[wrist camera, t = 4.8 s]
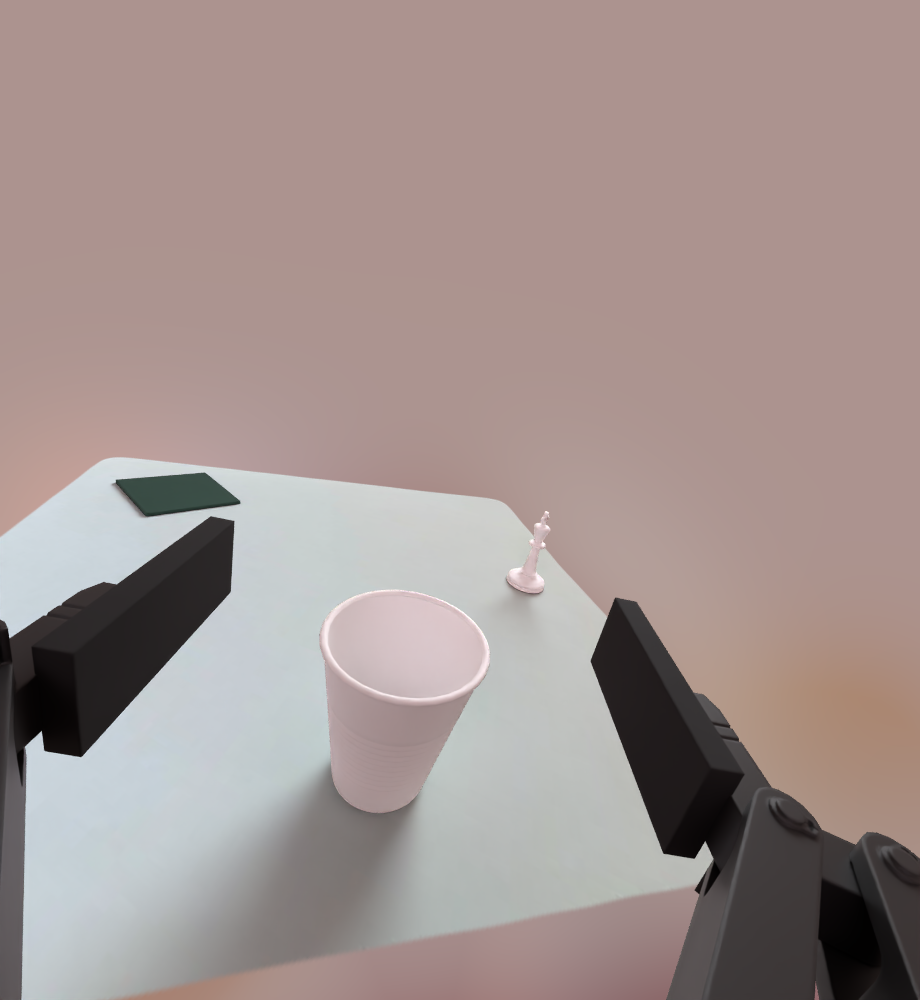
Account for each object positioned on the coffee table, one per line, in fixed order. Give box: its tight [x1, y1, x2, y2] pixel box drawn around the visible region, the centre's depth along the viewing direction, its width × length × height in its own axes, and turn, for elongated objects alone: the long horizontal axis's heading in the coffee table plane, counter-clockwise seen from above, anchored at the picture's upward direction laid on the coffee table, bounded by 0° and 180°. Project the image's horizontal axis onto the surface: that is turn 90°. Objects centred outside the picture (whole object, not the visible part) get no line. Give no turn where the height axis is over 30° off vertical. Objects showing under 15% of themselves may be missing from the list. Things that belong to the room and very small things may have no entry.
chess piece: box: [507, 512, 550, 593], centre depth 57 cm, size 5×5×10 cm
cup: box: [319, 590, 490, 813], centre depth 29 cm, size 10×10×11 cm
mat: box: [116, 473, 240, 516], centre depth 61 cm, size 11×11×1 cm
